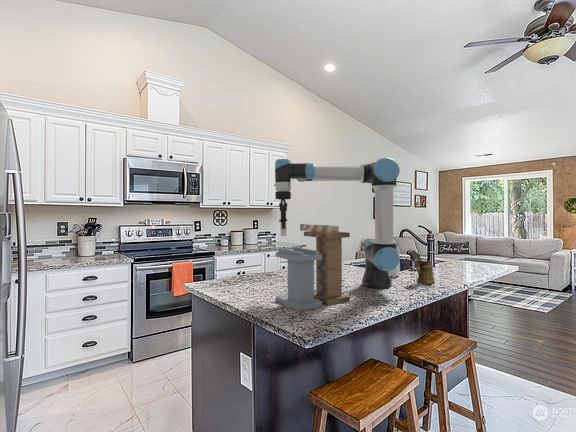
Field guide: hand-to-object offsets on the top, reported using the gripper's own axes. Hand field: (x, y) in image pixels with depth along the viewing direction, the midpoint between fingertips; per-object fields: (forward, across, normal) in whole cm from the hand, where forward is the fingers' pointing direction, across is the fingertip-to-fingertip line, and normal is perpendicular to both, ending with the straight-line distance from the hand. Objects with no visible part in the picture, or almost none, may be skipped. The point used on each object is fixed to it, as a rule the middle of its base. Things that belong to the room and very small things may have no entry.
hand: (283, 234), depth 163 cm
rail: (-2, +8, +16) cm, 18 cm away
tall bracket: (+28, +13, +19) cm, 36 cm away
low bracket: (+28, +20, +6) cm, 35 cm away
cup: (+28, -38, +64) cm, 80 cm away
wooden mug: (+29, -19, +76) cm, 83 cm away
